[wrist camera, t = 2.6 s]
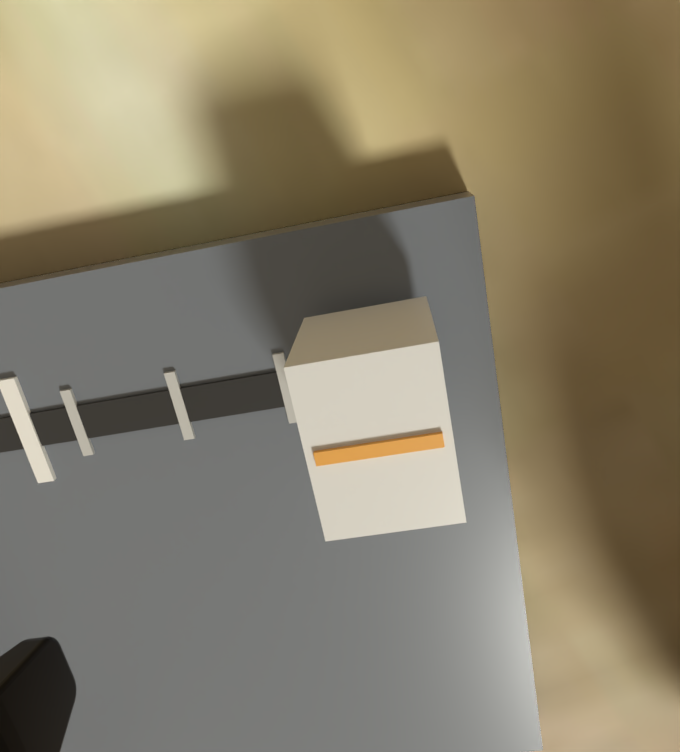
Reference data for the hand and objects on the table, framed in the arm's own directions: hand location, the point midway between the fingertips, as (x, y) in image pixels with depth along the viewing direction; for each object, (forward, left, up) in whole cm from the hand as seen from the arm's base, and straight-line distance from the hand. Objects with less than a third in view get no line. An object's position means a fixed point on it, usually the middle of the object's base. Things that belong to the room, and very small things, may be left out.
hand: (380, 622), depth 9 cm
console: (+7, +5, -11) cm, 14 cm away
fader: (0, 0, -9) cm, 9 cm away
